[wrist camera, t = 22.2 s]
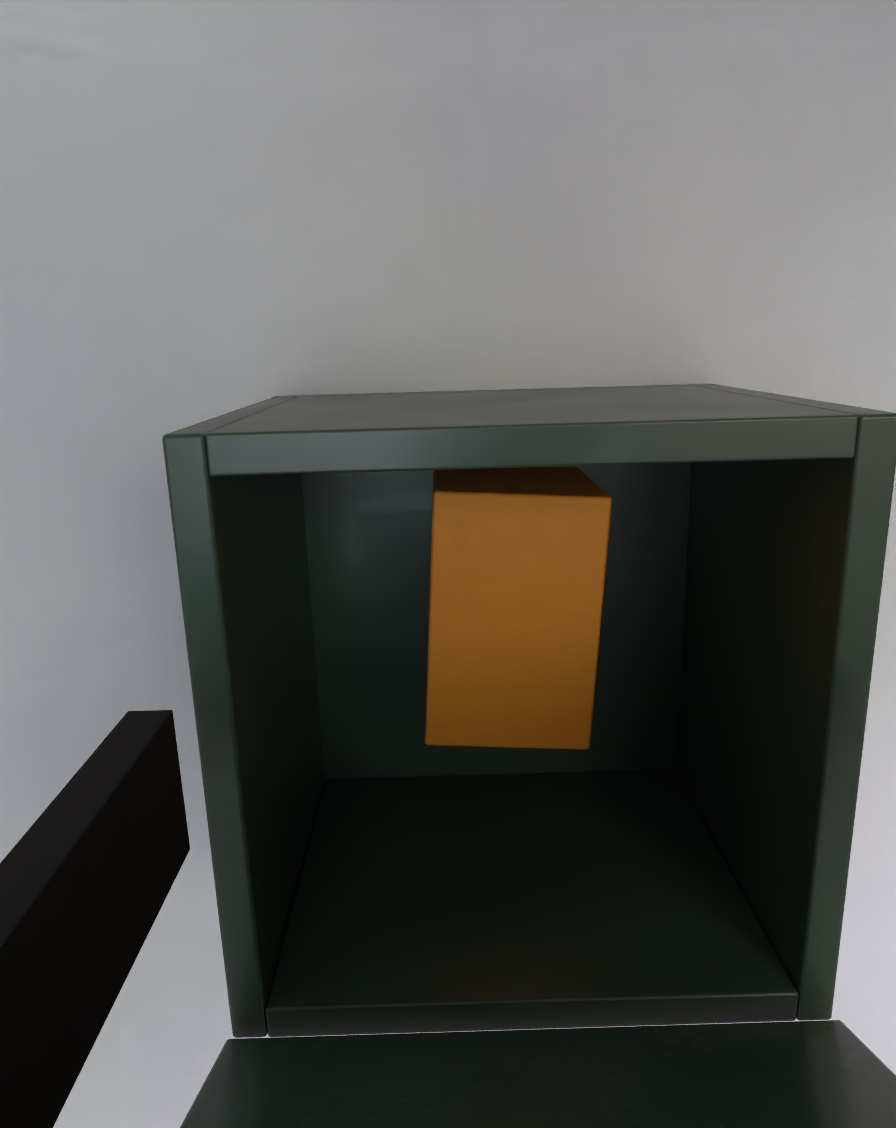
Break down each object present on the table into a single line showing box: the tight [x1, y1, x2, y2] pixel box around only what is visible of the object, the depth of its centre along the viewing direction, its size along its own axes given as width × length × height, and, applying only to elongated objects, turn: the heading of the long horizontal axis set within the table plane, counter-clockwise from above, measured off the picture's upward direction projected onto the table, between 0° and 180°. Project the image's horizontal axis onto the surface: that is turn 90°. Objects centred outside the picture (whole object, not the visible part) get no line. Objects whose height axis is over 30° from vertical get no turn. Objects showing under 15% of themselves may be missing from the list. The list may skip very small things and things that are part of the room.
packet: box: [425, 467, 612, 750], centre depth 24 cm, size 7×4×5 cm, turn 178°
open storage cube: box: [162, 384, 896, 1038], centre depth 22 cm, size 14×14×11 cm
